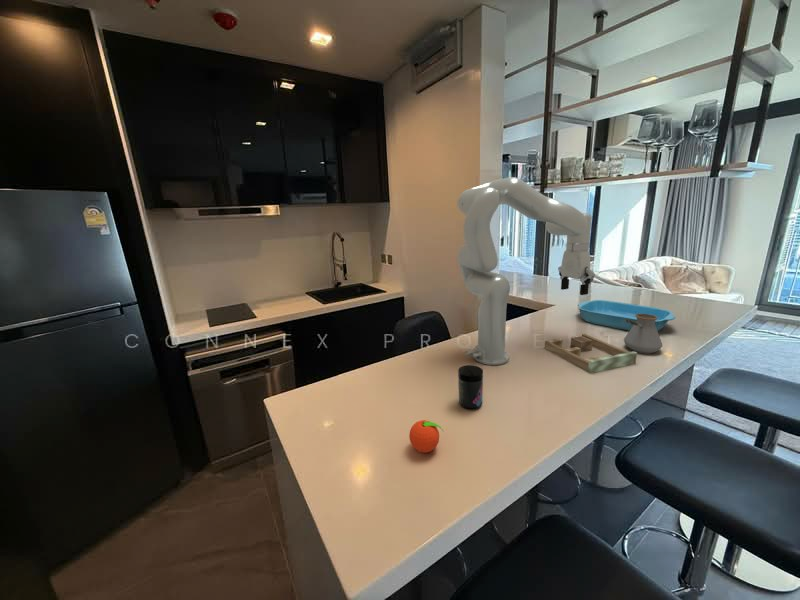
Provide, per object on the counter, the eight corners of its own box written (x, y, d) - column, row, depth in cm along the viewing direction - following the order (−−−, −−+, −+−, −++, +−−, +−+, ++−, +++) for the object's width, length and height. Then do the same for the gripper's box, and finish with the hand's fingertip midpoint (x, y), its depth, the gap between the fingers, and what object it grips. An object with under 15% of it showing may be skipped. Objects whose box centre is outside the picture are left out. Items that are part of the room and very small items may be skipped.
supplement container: (470, 413, 89) (470, 379, 86) (453, 402, 94) (453, 369, 92) (487, 405, 92) (488, 371, 90) (470, 395, 98) (470, 362, 95)
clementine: (442, 438, 80) (442, 412, 78) (445, 459, 73) (445, 431, 71) (410, 439, 80) (408, 413, 79) (409, 459, 74) (408, 432, 72)
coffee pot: (631, 341, 129) (636, 304, 125) (667, 350, 120) (673, 310, 116) (602, 355, 118) (607, 315, 115) (639, 366, 109) (645, 324, 105)
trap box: (590, 373, 107) (592, 362, 106) (544, 348, 127) (545, 338, 126) (635, 363, 111) (637, 352, 110) (583, 340, 132) (584, 331, 131)
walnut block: (580, 352, 122) (581, 342, 121) (570, 347, 127) (571, 337, 126) (591, 350, 123) (592, 340, 122) (581, 345, 128) (582, 336, 127)
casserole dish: (567, 320, 156) (569, 306, 154) (588, 310, 170) (589, 296, 168) (664, 341, 128) (666, 323, 126) (679, 326, 142) (682, 310, 140)
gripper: (552, 246, 130) (550, 288, 135) (587, 250, 114) (583, 298, 119) (568, 244, 132) (565, 286, 137) (605, 248, 116) (600, 295, 121)
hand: (573, 291), depth 128 cm, fingers open, 9 cm apart
